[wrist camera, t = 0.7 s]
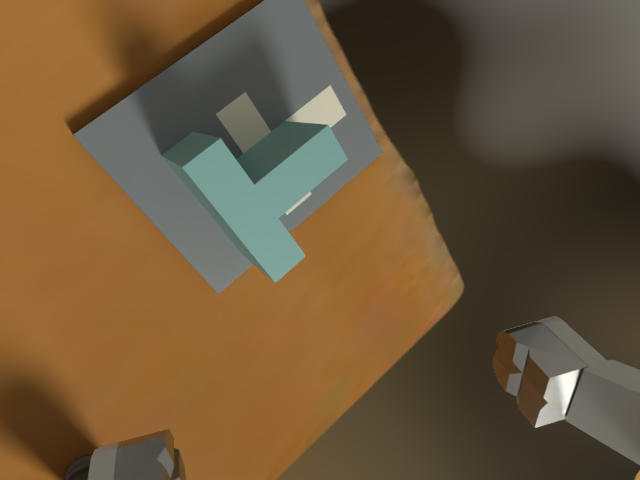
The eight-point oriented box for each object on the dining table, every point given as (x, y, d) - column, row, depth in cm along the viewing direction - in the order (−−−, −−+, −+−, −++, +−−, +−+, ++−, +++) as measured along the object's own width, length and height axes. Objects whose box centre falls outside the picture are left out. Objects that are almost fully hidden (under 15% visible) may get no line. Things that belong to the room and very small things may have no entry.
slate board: (72, 134, 42) (72, 135, 41) (288, -18, 48) (293, -21, 47) (215, 290, 53) (218, 294, 52) (377, 151, 59) (382, 152, 58)
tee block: (161, 155, 45) (182, 167, 37) (259, 81, 48) (300, 76, 39) (241, 253, 52) (275, 283, 43) (324, 183, 55) (370, 198, 46)
